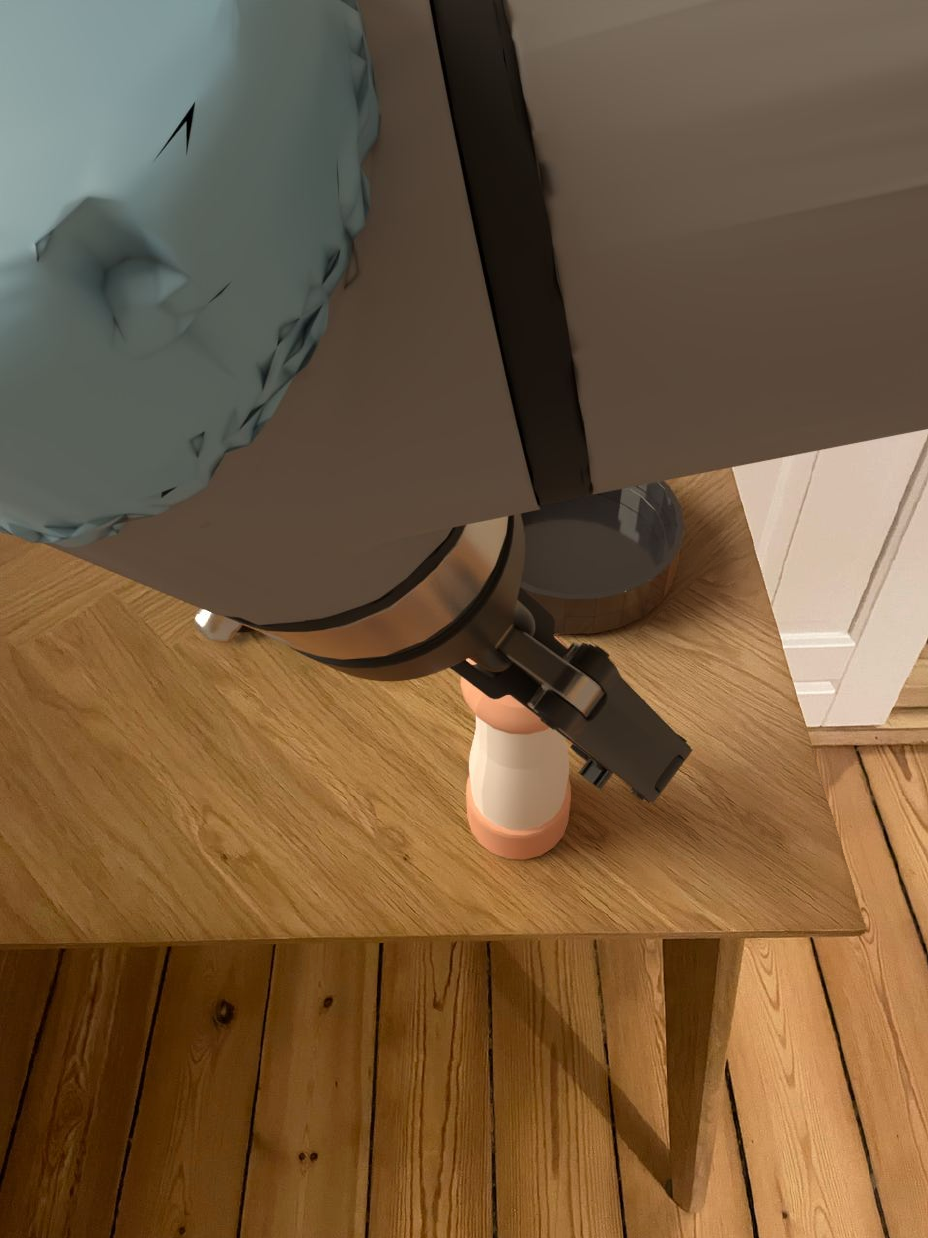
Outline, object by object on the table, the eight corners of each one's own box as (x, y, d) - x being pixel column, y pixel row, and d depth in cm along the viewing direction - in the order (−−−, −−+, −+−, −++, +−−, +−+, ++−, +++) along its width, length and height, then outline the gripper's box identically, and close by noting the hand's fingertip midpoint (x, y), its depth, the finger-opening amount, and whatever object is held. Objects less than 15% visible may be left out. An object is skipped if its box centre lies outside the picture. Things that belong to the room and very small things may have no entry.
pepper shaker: (448, 829, 67) (431, 670, 52) (498, 752, 70) (497, 583, 56) (538, 878, 64) (549, 725, 49) (586, 796, 68) (609, 630, 53)
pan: (719, 584, 80) (729, 543, 77) (538, 671, 75) (540, 632, 71) (598, 462, 91) (602, 421, 87) (432, 532, 85) (428, 491, 82)
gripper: (-55, 377, 26) (242, 562, 47) (692, 971, 20) (657, 884, 41) (111, 170, 27) (334, 443, 47) (894, 693, 21) (758, 745, 41)
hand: (484, 648), depth 44 cm, fingers open, 13 cm apart
